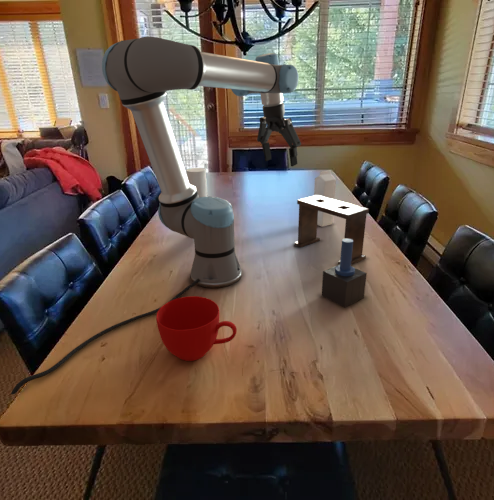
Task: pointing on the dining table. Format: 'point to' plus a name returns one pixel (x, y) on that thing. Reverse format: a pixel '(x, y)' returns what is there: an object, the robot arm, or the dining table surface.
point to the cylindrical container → (198, 180)
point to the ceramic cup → (191, 326)
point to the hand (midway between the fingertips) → (280, 162)
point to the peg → (346, 259)
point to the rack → (337, 208)
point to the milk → (325, 194)
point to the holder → (343, 287)
